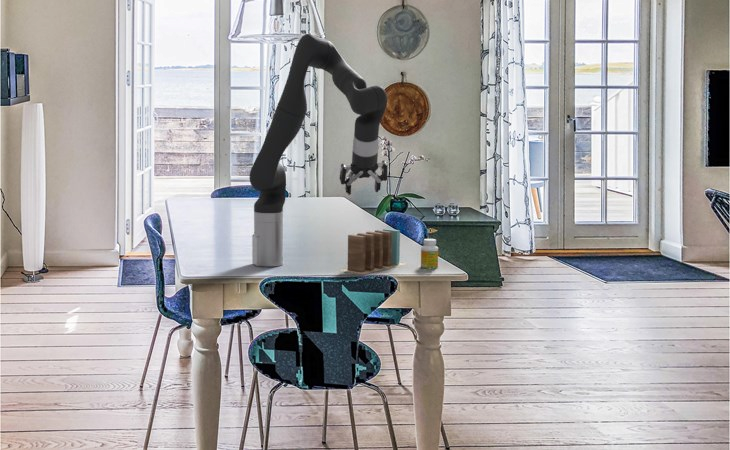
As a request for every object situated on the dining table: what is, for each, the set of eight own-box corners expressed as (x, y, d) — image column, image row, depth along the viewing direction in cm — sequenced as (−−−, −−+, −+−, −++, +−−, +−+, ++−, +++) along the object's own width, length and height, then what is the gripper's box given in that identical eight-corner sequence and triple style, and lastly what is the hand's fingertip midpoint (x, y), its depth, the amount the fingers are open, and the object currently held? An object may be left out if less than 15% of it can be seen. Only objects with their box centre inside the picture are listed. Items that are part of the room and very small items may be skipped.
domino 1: (361, 272, 259) (362, 236, 257) (347, 270, 262) (347, 235, 261) (365, 271, 260) (365, 236, 259) (350, 269, 264) (351, 234, 262)
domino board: (361, 276, 256) (361, 274, 256) (338, 273, 262) (338, 270, 262) (407, 266, 275) (407, 263, 275) (385, 262, 280) (385, 260, 280)
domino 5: (396, 264, 273) (397, 230, 271) (382, 262, 276) (383, 229, 275) (399, 264, 274) (400, 230, 273) (385, 262, 278) (386, 228, 276)
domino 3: (379, 268, 266) (380, 233, 264) (365, 266, 269) (366, 232, 268) (382, 267, 267) (383, 233, 266) (368, 265, 271) (369, 231, 269)
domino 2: (370, 270, 262) (371, 235, 261) (356, 268, 266) (357, 233, 264) (373, 269, 264) (374, 234, 262) (359, 267, 267) (360, 233, 266)
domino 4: (388, 266, 269) (388, 232, 268) (374, 264, 273) (374, 230, 271) (391, 265, 271) (391, 231, 269) (377, 263, 274) (377, 230, 273)
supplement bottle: (428, 272, 266) (428, 241, 264) (417, 269, 270) (417, 239, 269) (441, 270, 269) (442, 240, 268) (430, 267, 273) (430, 237, 272)
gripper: (386, 139, 253) (382, 182, 263) (339, 142, 250) (337, 186, 260) (391, 153, 247) (388, 197, 257) (343, 157, 244) (341, 201, 255)
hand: (362, 191), depth 259 cm, fingers open, 8 cm apart
